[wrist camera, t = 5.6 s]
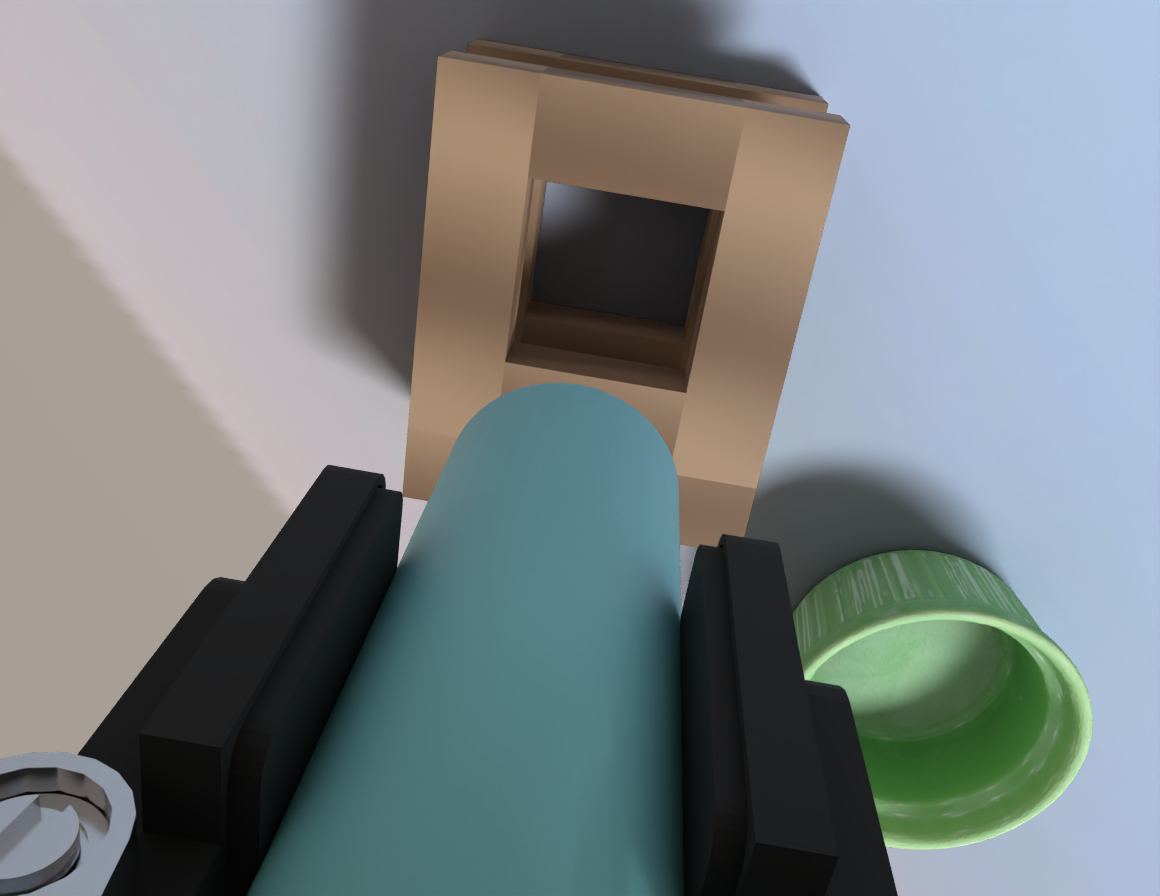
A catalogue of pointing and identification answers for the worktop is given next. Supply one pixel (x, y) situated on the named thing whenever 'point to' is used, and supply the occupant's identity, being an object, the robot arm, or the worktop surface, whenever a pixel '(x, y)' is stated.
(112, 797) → the robot arm
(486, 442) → the peg
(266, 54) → the worktop surface
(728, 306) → the block
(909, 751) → the ramekin
